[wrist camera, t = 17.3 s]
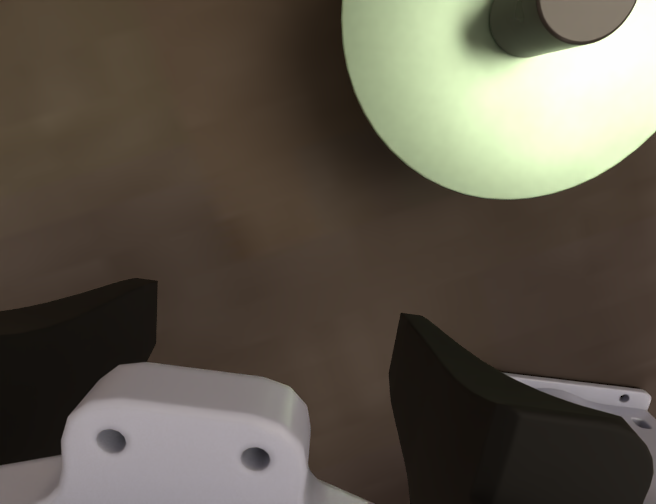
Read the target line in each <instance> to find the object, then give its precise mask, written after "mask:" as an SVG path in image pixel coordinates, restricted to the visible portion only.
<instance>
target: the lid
mask: <svg viewBox="0 0 656 504" xmlns="http://www.w3.org/2000/svg"><path fill="white" fill-rule="evenodd" d="M341 33H342V47H343V52H344V58H345V63H346V69H347V72H348V76H349V79H350V82H351V85H352V88H353V92H354V94H355V96H356V99H357V101H358V103H359V105H360V107H361V109H362V112H363V114H364V115H365V117H366V119H367V120H368V122H369V123H370V125H371V127H372V128H373V130H374V131H375V133H376V134H377V135H378V136H379V138H380V139H381V140H382V141H383V142H384V144H385V145H386V146H387V147H388V148H389V150H390V151H391V152H393V153H394V154H395V155H396V156H397V157H398V158H399V159H400V160H401V161H402V162H403V163H405V164H406V165H407V166H408V167H410V168H411V169H412V170H414V171H415V172H417V173H418V174H420V175H421V176H423V177H424V178H426V179H428V180H430V181H432V182H434V183H436V184H438V185H440V186H442V187H444V188H446V189H449V190H452V191H455V192H458V193H461V194H464V195H469V196H474V197H479V198H484V199H497V200H517V199H531V198H536V197H541V196H546V195H551V194H555V193H558V192H561V191H564V190H567V189H570V188H573V187H576V186H578V185H580V184H582V183H584V182H587V181H589V180H591V179H593V178H596V177H597V176H599V175H601V174H602V173H604V172H606V171H607V170H609V169H611V168H612V167H614V166H616V165H617V164H619V163H620V162H621V161H622V160H624V159H625V158H626V157H628V156H629V155H630V154H632V153H633V152H634V151H636V150H637V149H638V148H639V147H640V146H641V145H642V144H643V143H644V142H645V141H647V140H648V139H649V138H650V137H651V136H652V135H653V134H654V133H655V132H656V0H342V6H341Z"/></svg>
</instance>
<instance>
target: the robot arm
mask: <svg viewBox="0 0 656 504" xmlns="http://www.w3.org/2000/svg"><path fill="white" fill-rule="evenodd" d="M157 284H158V281H155V280H147V279H139V278H134V279H128V280H124V281H120V282H117V283H113V284H110V285H107V286H103V287H100V288H97V289H94V290H90V291H87V292H84V293H81V294H77V295H73V296H70V297H66V298H62V299H59V300H55V301H51V302H48V303H43V304H39V305H34V306H29V307H24V308H19V309H13V310H7V311H0V504H374V503H372V502H370V501H368V500H365V499H363V498H361V497H358V496H356V495H354V494H351V493H349V492H347V491H345V490H342V489H340V488H338V487H335V486H333V485H331V484H329V483H326V482H324V481H322V480H319V479H317V478H316V477H315V476H314V475H313V474H312V472H311V471H310V470H309V466H308V458H309V445H310V433H311V426H310V420H309V414H308V408H307V405H306V404H305V403H304V401H303V400H302V399H301V398H300V397H299V396H298V395H297V394H296V393H295V391H294V390H293V389H292V388H291V387H290V386H287V385H285V384H282V383H279V382H276V381H274V380H271V379H268V378H266V377H261V376H253V375H245V374H237V373H229V372H222V371H214V370H206V369H198V368H190V367H182V366H175V365H167V364H159V363H151V362H147V360H148V358H149V356H150V354H151V352H152V350H153V348H154V346H155V344H156V325H157ZM389 384H390V397H391V404H392V409H393V413H394V418H395V422H396V427H397V431H398V435H399V440H400V444H401V448H402V453H403V457H404V461H405V466H406V472H407V478H408V486H409V495H410V504H656V419H655V418H654V417H653V416H652V415H651V414H650V413H649V412H648V411H647V410H648V407H649V404H650V402H651V396H650V395H649V394H648V393H647V392H646V391H645V390H643V389H636V388H628V387H620V386H611V385H603V384H595V383H586V382H578V381H570V380H561V379H553V378H544V377H536V376H528V375H519V374H511V373H503V372H500V371H499V370H497V369H495V368H493V367H492V366H490V365H488V364H487V363H485V362H483V361H482V360H480V359H479V358H477V357H476V356H475V355H473V354H472V353H470V352H469V351H467V350H466V349H465V348H463V347H462V346H461V345H459V344H458V343H457V342H455V341H454V340H453V339H451V338H450V337H449V336H448V335H446V334H445V333H444V332H443V331H442V330H440V329H439V328H438V327H437V326H435V325H434V324H433V323H432V322H430V321H429V320H428V319H426V318H425V317H423V316H420V315H413V314H405V313H401V315H400V320H399V325H398V330H397V335H396V340H395V345H394V350H393V355H392V360H391V365H390V370H389ZM622 395H624V397H622V398H620V397H621V396H622Z"/></svg>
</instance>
